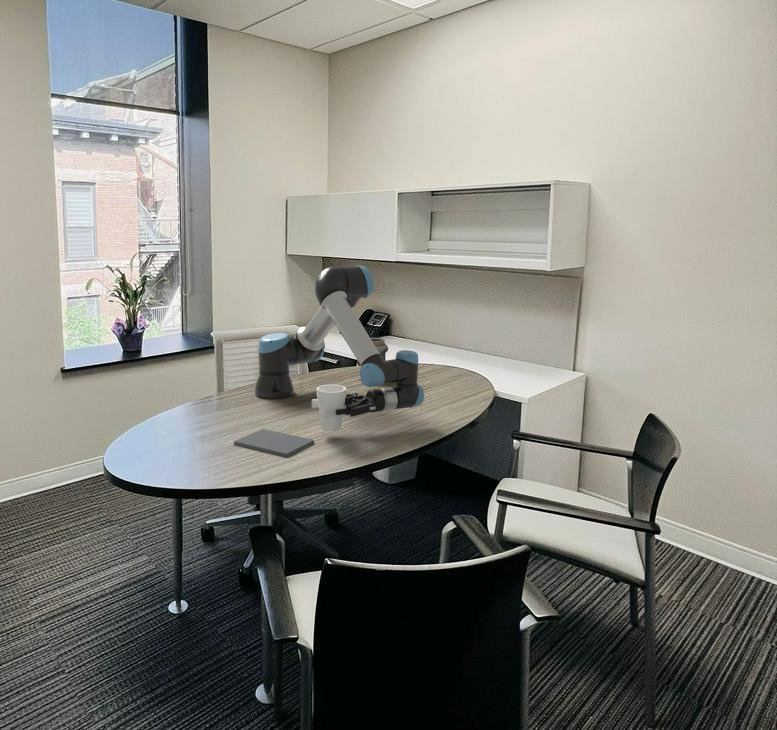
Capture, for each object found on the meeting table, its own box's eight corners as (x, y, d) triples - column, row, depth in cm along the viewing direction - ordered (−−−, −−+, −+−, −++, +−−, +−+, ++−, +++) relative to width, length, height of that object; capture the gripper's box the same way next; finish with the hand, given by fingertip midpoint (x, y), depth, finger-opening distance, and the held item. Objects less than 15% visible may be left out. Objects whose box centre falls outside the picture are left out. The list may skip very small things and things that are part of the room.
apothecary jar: (355, 378, 280) (356, 337, 276) (380, 375, 286) (381, 336, 282) (367, 384, 270) (368, 342, 266) (392, 382, 275) (393, 341, 271)
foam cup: (345, 432, 201) (346, 392, 198) (316, 432, 200) (316, 392, 197) (345, 422, 210) (346, 384, 207) (317, 422, 209) (317, 384, 206)
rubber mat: (234, 444, 196) (233, 441, 196) (263, 431, 208) (263, 428, 208) (286, 456, 187) (286, 453, 187) (314, 442, 199) (314, 439, 199)
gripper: (397, 420, 204) (333, 430, 193) (364, 401, 222) (304, 409, 211) (398, 398, 202) (333, 406, 191) (365, 381, 221) (304, 387, 210)
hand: (318, 408), depth 201 cm, fingers closed on foam cup, 9 cm apart
